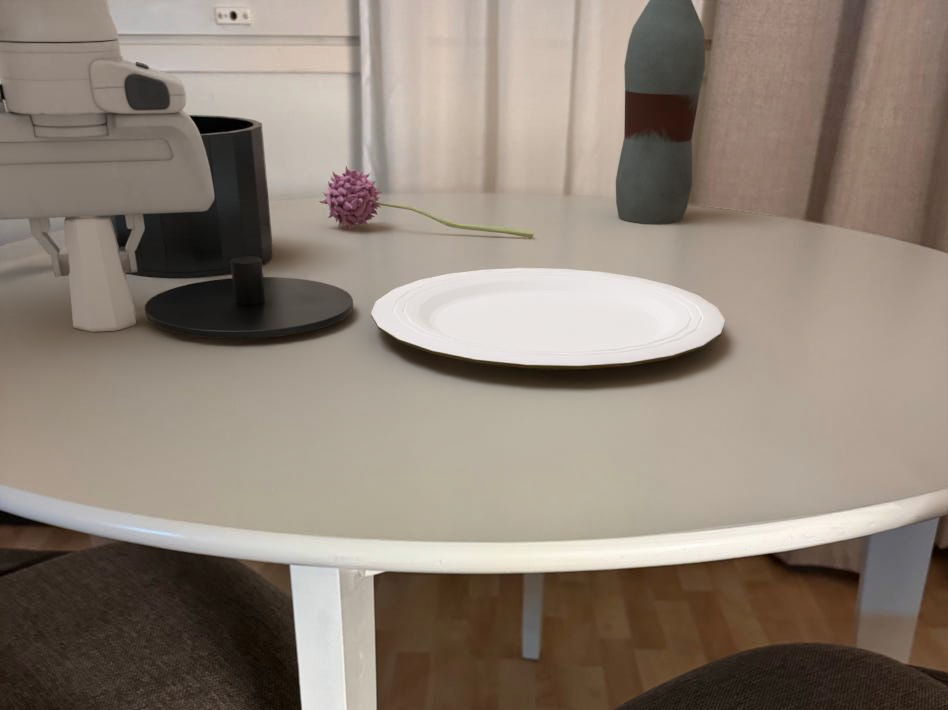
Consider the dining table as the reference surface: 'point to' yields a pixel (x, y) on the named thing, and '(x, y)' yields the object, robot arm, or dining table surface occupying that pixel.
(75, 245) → the salt shaker
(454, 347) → the plate
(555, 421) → the dining table surface
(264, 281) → the bin lid
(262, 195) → the trash can
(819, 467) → the dining table surface
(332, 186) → the artificial flower
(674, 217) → the bottle
